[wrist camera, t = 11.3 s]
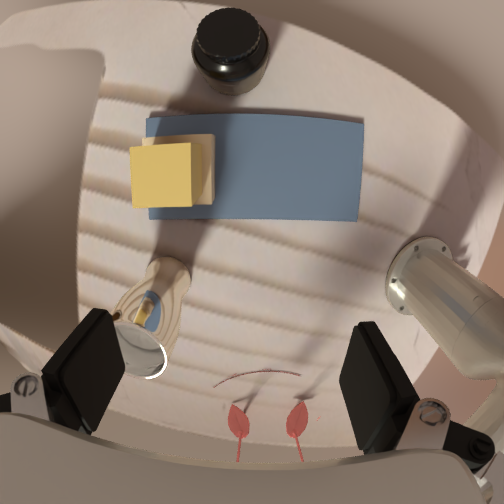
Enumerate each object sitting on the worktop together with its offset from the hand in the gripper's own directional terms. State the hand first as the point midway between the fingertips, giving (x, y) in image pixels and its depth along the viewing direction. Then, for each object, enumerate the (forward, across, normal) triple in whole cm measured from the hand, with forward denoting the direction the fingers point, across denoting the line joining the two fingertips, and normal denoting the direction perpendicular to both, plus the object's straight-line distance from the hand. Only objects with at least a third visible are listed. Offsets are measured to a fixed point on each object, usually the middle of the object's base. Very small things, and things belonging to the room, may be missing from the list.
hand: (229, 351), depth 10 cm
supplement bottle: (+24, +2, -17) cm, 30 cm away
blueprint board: (+24, -1, -5) cm, 25 cm away
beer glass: (+24, +10, +9) cm, 28 cm away
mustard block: (+19, +7, -5) cm, 21 cm away
